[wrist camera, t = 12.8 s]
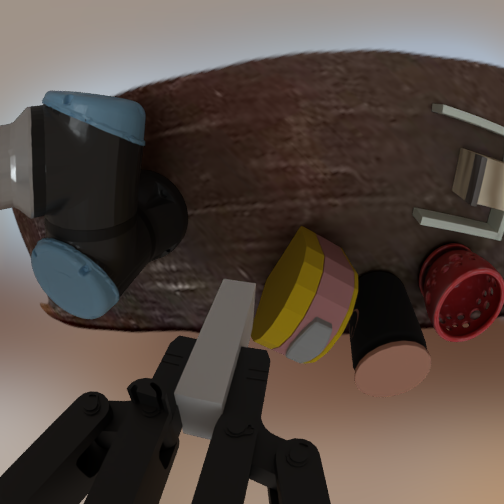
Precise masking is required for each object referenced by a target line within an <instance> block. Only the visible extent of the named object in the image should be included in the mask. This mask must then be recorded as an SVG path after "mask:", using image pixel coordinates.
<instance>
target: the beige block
mask: <svg viewBox="0 0 504 504" xmlns="http://www.w3.org/2000/svg"><path fill="white" fill-rule="evenodd" d="M452 191H453V192H454V193H456V194H457V195H458V196H460V197H461V198H462V199H464V200H465V201H466V202H467V203H469V204H470V205H472V206H477V204H480V205H484V206H488V207H491V208H495V209H499V210H502V211H504V162H502V161H499V160H496V159H494V158H491V157H488V156H485V155H482V154H479V153H476V152H473V151H470V150H467V149H464V148H460V154H459V159H458V165H457V169H456V174H455V179H454V183H453V188H452Z"/></svg>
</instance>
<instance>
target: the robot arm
mask: <svg viewBox="0 0 504 504" xmlns="http://www.w3.org/2000/svg"><path fill="white" fill-rule="evenodd" d="M42 103H43V104H44V105H40V106H31V107H27V108H26V109H25V110H24V111H23V112H22V113H21V115H19V117H18V118H17V119H16V120H15V121H14V122H13V123H11V124H7V125H1V126H0V210H2V209H7V208H11V207H15V208H17V209H19V210H20V211H22V212H23V213H24V214H25V215H27V216H28V217H29V218H35V217H40V216H44V220H45V230H46V237H45V238H43V239H41V240H40V241H38V243H37V245H36V247H35V249H34V250H33V251H32V255H31V263H32V268H33V271H34V274H35V277H36V279H37V281H38V283H39V284H40V286H41V287H42V289H43V290H44V291H45V293H46V294H47V295H48V296H49V297H50V298H51V299H52V300H53V301H54V302H55V303H56V304H57V305H58V306H59V307H61V308H62V309H64V310H65V311H67V312H68V313H70V314H72V315H75V316H77V317H80V318H85V319H94V318H97V317H100V316H102V315H104V314H105V313H106V312H107V311H108V310H109V309H110V308H111V307H112V306H113V305H115V304H116V303H117V302H118V301H119V300H118V299H119V298H120V296H121V295H122V294H123V293H124V291H125V290H126V289H127V288H128V286H129V285H130V284H131V283H132V282H133V280H134V279H135V278H136V277H137V276H138V274H139V273H140V272H141V271H142V270H143V268H144V267H145V266H146V265H147V264H148V262H151V261H153V260H156V259H159V258H161V257H164V256H166V255H167V254H169V253H170V252H172V251H173V250H174V249H175V248H176V247H177V245H178V244H179V243H180V242H181V240H182V239H183V237H184V235H185V232H186V229H187V224H188V214H187V208H186V205H185V202H184V199H183V197H182V195H181V194H180V192H179V191H178V189H177V188H176V187H175V186H174V184H173V183H171V182H170V181H169V180H168V179H167V178H165V177H164V176H162V175H160V174H158V173H155V172H152V171H147V170H141V163H142V154H143V146H145V141H144V130H145V119H146V115H145V111H144V109H143V107H142V106H141V105H140V104H139V103H137V102H135V101H131V100H127V99H123V98H117V97H111V96H105V95H98V94H90V93H81V92H69V91H48V92H47V93H46V94H45V97H44V98H43V100H42ZM255 290H256V283H249V282H242V281H235V280H228V279H223V281H222V284H221V286H220V288H219V290H218V293H217V295H216V297H215V299H214V302H213V304H212V306H211V309H210V311H209V313H208V315H207V318H206V320H205V322H204V325H203V327H202V329H201V332H200V334H199V336H198V338H197V339H193V338H189V337H183V336H178V337H177V338H176V339H175V340H174V341H172V342H171V343H170V345H169V347H168V349H167V351H166V353H165V355H164V357H163V358H162V361H161V363H160V364H159V366H158V368H157V370H156V372H155V374H154V376H153V378H152V379H150V378H143V379H138V380H136V381H134V382H132V383H131V384H130V385H129V386H128V388H127V390H128V393H129V395H130V398H131V401H108V399H107V398H106V397H105V396H104V395H103V394H101V393H98V392H87V393H84V394H83V395H81V396H80V397H78V398H77V399H76V400H75V401H74V402H73V403H72V404H71V405H70V406H69V407H68V408H67V409H66V410H65V411H64V412H63V413H62V414H61V415H60V416H59V417H58V418H57V419H56V420H55V421H54V422H53V423H52V424H51V426H49V427H48V429H46V430H45V432H44V433H43V434H42V435H41V436H40V437H39V438H38V439H37V440H36V441H35V442H34V443H33V444H32V445H31V446H30V447H29V448H28V449H27V450H26V451H25V452H24V453H23V454H22V455H21V456H20V457H19V458H18V459H17V460H16V461H15V462H14V463H13V464H12V465H11V466H10V467H9V468H8V469H7V470H6V471H5V473H4V474H3V475H2V476H1V477H0V504H79V503H80V502H81V501H82V500H83V499H84V498H85V496H86V495H87V494H88V495H87V498H86V500H85V502H84V504H159V501H160V498H161V496H162V493H163V490H164V487H165V484H166V482H167V479H168V475H169V473H170V470H171V467H172V465H173V462H174V459H175V456H176V453H177V450H178V448H179V438H178V437H179V434H180V432H181V429H183V433H185V434H189V435H193V436H197V437H201V438H205V439H210V440H211V441H210V444H209V448H208V451H207V454H206V458H205V461H204V464H203V467H202V471H201V474H200V477H199V481H198V484H197V487H196V490H195V494H194V497H193V500H192V504H244V499H245V495H246V490H247V486H248V481H249V479H251V480H254V481H256V482H258V483H260V484H262V485H264V486H267V488H268V496H269V504H331V503H330V499H329V494H328V489H327V485H326V480H325V476H324V472H323V467H322V463H321V458H320V454H319V452H318V449H317V448H316V446H315V445H313V444H312V443H311V442H310V441H307V440H305V439H296V438H294V439H291V440H285V439H282V438H280V437H278V436H275V435H274V434H272V433H270V432H269V431H268V430H267V429H266V428H265V427H264V425H263V423H262V420H261V414H262V408H263V402H264V397H265V391H266V385H267V379H268V373H269V367H270V358H269V355H268V353H267V351H266V350H261V349H254V348H248V344H249V340H250V336H251V332H252V327H253V315H254V302H255Z"/></svg>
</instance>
